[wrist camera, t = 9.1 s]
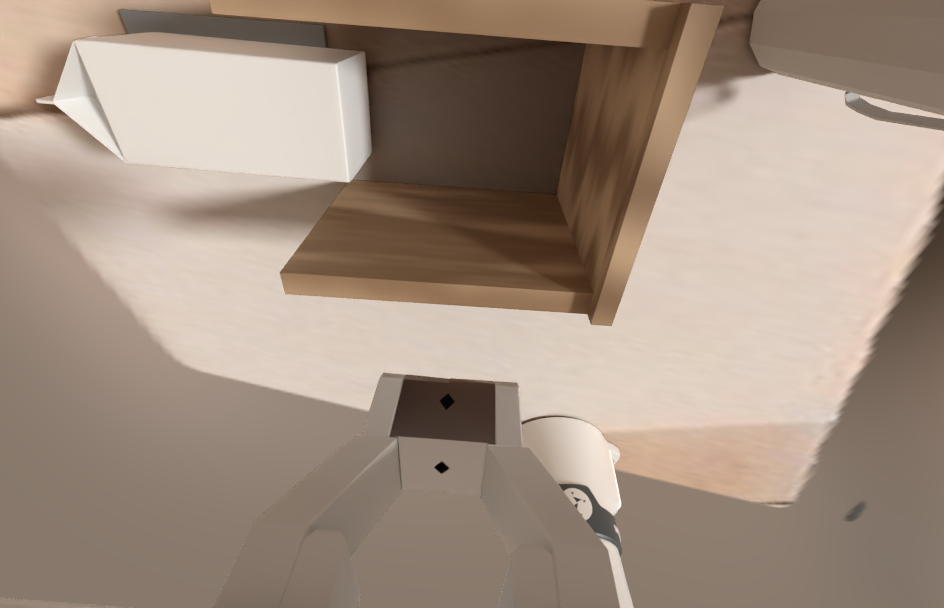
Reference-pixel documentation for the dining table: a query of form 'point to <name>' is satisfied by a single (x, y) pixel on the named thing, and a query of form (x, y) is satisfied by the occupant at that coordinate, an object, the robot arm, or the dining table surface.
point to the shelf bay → (509, 212)
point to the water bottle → (859, 51)
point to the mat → (224, 28)
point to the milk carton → (221, 104)
